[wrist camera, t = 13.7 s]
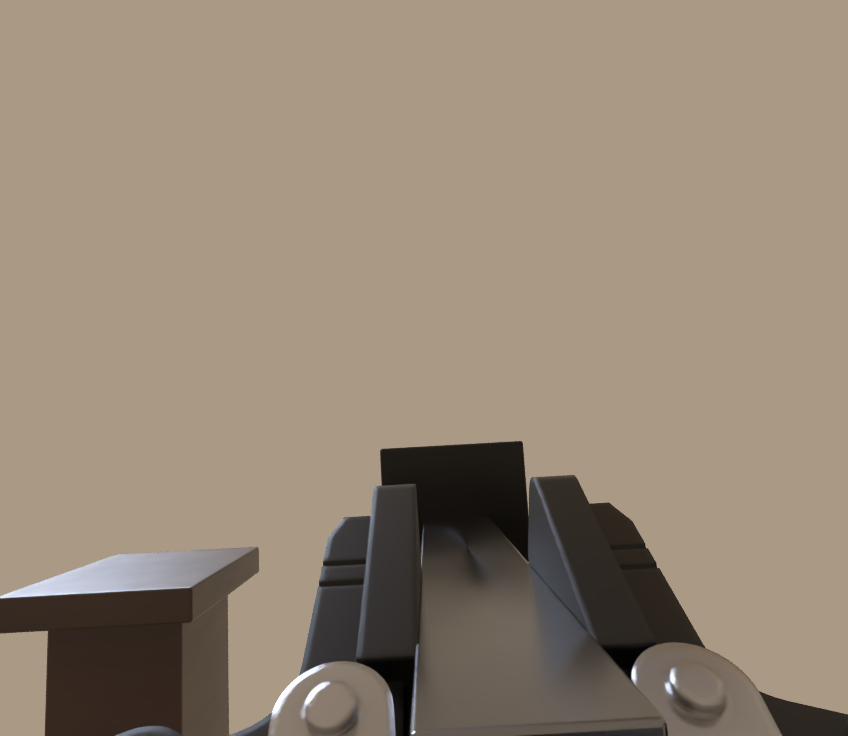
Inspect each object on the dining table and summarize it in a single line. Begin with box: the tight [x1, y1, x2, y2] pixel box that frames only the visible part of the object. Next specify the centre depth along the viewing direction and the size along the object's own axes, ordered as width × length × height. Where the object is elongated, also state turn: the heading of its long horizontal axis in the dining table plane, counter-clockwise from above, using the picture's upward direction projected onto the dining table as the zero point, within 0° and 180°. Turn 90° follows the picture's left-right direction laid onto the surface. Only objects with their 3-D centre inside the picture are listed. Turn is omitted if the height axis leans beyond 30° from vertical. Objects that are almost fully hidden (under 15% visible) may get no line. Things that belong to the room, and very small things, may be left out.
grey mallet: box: [380, 441, 668, 736], centre depth 12 cm, size 16×4×4 cm, turn 0°
